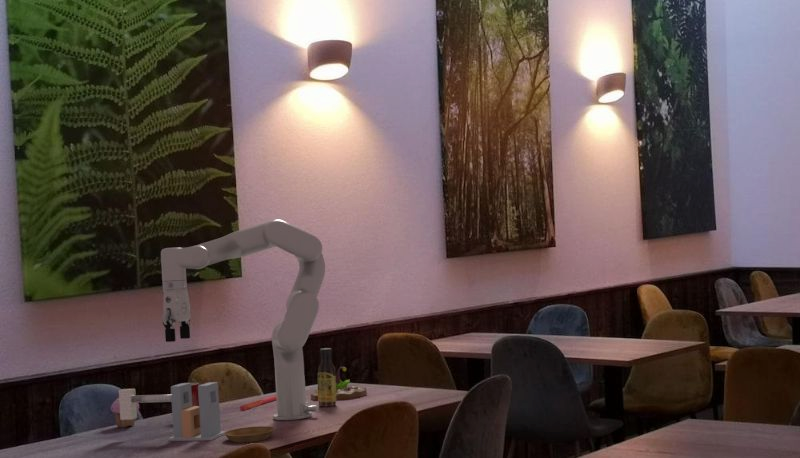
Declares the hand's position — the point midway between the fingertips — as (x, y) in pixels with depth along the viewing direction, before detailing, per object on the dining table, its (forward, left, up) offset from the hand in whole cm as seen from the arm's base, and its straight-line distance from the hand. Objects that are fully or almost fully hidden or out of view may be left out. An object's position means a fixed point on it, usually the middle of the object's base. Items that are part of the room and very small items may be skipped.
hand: (178, 339), depth 345 cm
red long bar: (-5, -47, -29) cm, 56 cm away
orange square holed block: (-11, +15, -28) cm, 33 cm away
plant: (-30, -63, -29) cm, 76 cm away
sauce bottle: (-34, -41, -28) cm, 60 cm away
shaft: (+2, +15, -22) cm, 27 cm away
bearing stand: (-12, +15, -28) cm, 34 cm away
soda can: (+6, -18, -28) cm, 34 cm away
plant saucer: (-31, +18, -29) cm, 46 cm away
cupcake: (+24, -6, -28) cm, 38 cm away
